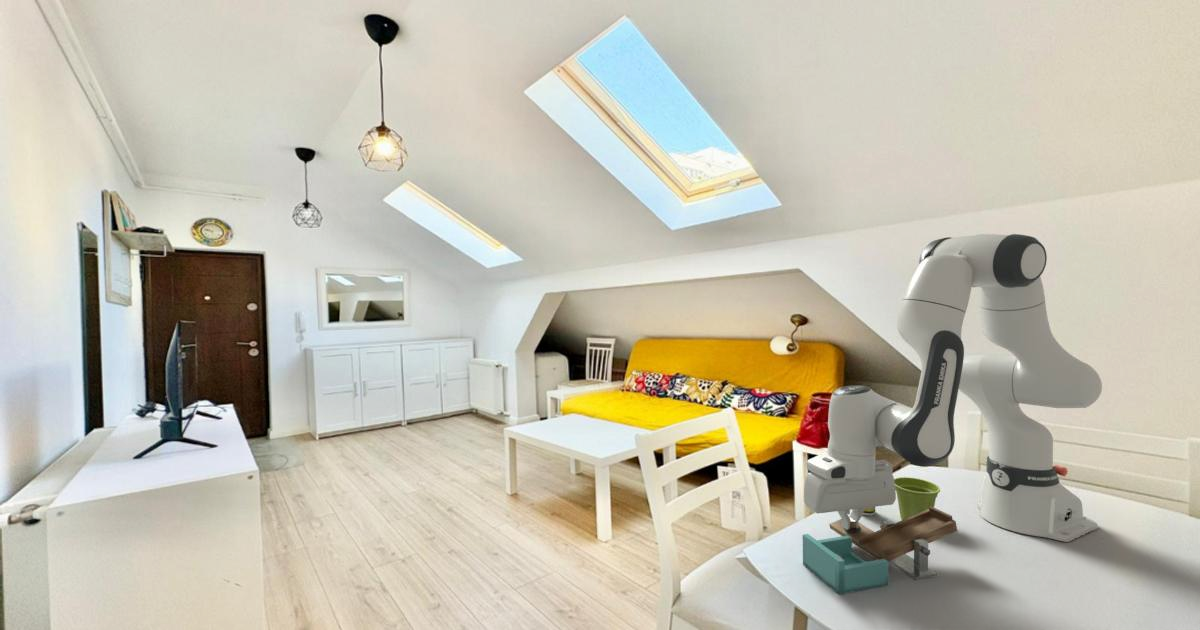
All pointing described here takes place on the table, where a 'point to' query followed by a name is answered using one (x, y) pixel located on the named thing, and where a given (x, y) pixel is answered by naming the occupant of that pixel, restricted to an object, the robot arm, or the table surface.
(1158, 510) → the table surface
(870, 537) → the lever
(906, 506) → the plant pot
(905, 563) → the fulcrum
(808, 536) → the teal tray
